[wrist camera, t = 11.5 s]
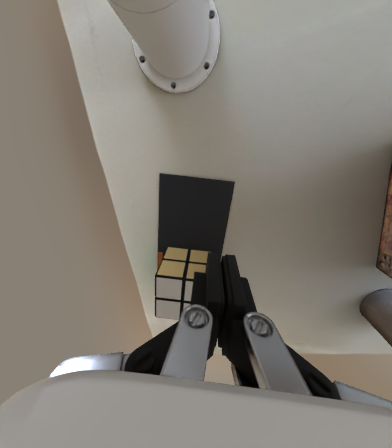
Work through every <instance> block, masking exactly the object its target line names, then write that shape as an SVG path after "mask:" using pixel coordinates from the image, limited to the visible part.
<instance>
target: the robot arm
mask: <svg viewBox="0 0 392 448" xmlns="http://www.w3.org/2000/svg"><path fill="white" fill-rule="evenodd" d="M107 1H108V2H109V4H110V5H111V7H112V8H113V10H114V11H115V13H116V14H117V16H118V17H119V18H120V20H121V21H122V23H123V24H124V26H125V27H126V29H127V30H128V32H129V33H130V35H131V36H132V44H133V49H134V53H135V56H136V59H137V61H138V64H139V66H140V67H141V69H142V71H143V72H144V74H145V75H146V76H147V78H148V79H149V80H150V81H151V82H152V83H153V84H154V85H156V86H157V87H159V88H160V89H162V90H164V91H167V92H170V93H185V92H188V91H191V90H193V89H195V88H196V87H198V86H199V85H200V84H201V83H203V82H204V81H205V79H206V78H207V77H208V75H209V74H210V72H211V71H212V69H213V67H214V65H215V62H216V59H217V56H218V51H219V45H220V24H219V18H218V13H217V10H216V7H215V5H214V2H213V1H212V0H107ZM210 17H213V19H210ZM143 60H145V62H144V63H143ZM206 66H207V67H208V69H207V70H206V69H205V67H206ZM174 85H175V86H176V87H175V88H173V86H174ZM217 338H218V347H220V348H222V355H225V356H226V357H227V358H228V359H229V361H231V369H232V374H233V378H234V382H235V385H228V384H221V383H214V382H205V381H204V376H205V369H206V362H207V360H208V359H209V358H210V357H211V356H212V355H213V352H214V348H215V346H216V342H217ZM0 448H392V402H391V401H389V400H387V399H384V398H381V397H379V396H376V395H373V394H371V393H368V392H365V391H362V390H360V389H357V388H354V387H351V386H349V385H346V384H343V383H341V382H338V381H334V382H333V383H332V382H331V381H330V380H329V379H328V378H327V377H326V376H325V375H324V374H323V373H321V372H320V371H319V370H318V369H316V368H315V367H314V366H312V365H311V364H310V363H309V362H308V361H306V360H305V359H304V358H303V357H301V356H300V355H299V354H298V353H296V352H295V351H294V350H293V349H292V348H290V347H289V346H288V345H287V344H285V343H284V341H283V339H282V337H281V335H280V334H279V332H278V330H277V328H276V326H275V324H274V323H273V322H272V320H271V319H270V318H268V317H267V316H266V315H264V314H262V313H259V312H257V310H256V307H255V303H254V300H253V296H252V293H251V290H250V286H249V283H248V280H247V278H243V277H240V274H239V270H238V266H237V262H236V258H235V255H227V254H226V255H225V256H222V260H220V256H217V253H211V252H208V256H207V263H206V270H205V273H203V272H195V271H194V278H193V286H192V295H191V303H190V305H189V306H187V307H186V308H185V309H184V310H183V311H182V313H181V316H180V319H179V321H178V322H177V323H175V324H174V325H172V326H171V327H169V328H168V329H166V330H164V331H163V332H161V333H160V334H158V335H157V336H155V337H154V338H152V339H151V340H149V341H148V342H146V343H145V344H143V345H142V346H140V347H139V348H137V349H136V350H135V351H133V352H132V353H131V354H124V355H123V352H118V353H111V354H110V353H109V354H100V355H92V356H83V357H75V358H71V359H68V360H66V361H65V362H63V363H61V364H60V365H59V366H58V367H57V368H56V369H55V370H54V371H53V373H52V374H51V375H50V377H49V378H46V379H43V380H41V381H39V382H36V383H35V384H32V385H30V386H28V387H26V388H24V389H22V390H20V391H19V392H17V393H16V394H14V395H13V396H11V397H10V398H9V399H8V400H6V401H5V402H4V403H3V404H1V406H0Z"/></svg>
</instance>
